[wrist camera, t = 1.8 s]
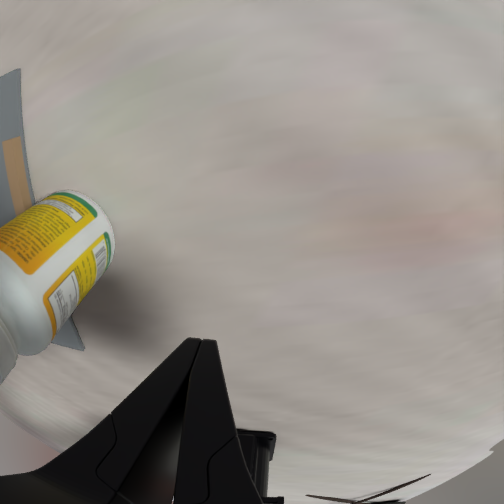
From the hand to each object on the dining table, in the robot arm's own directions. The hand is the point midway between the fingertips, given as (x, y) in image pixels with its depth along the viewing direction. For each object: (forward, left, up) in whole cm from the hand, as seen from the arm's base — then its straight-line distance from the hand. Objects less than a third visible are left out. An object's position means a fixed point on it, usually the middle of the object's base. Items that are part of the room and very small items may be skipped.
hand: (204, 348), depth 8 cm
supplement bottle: (0, +9, -7) cm, 11 cm away
